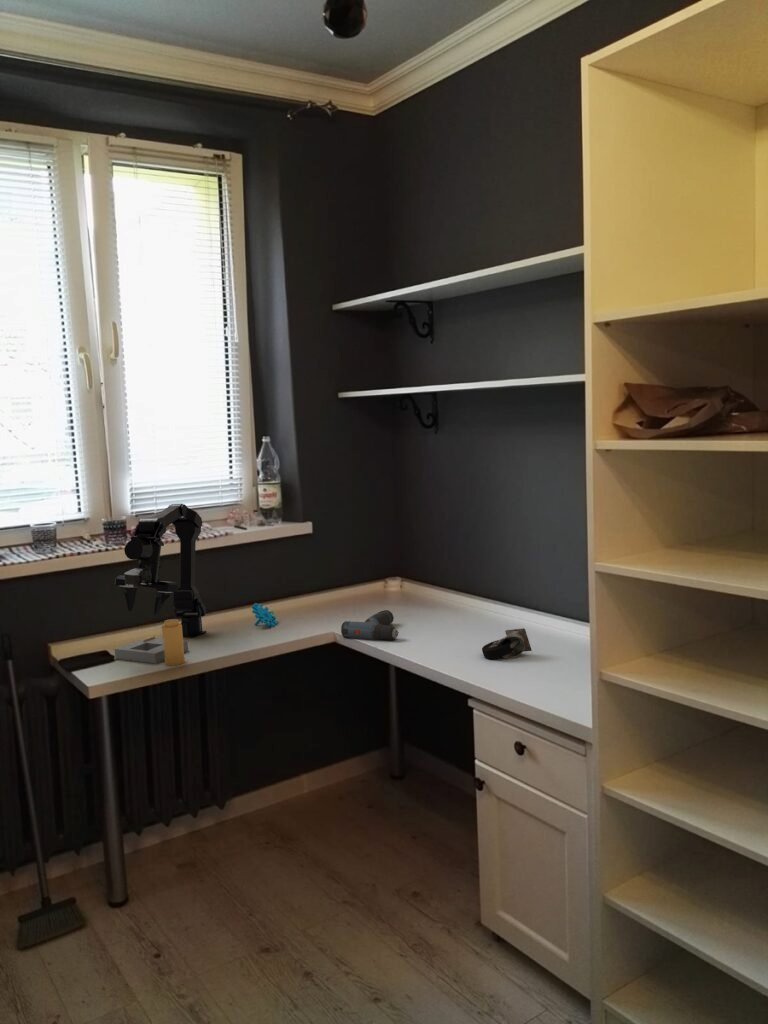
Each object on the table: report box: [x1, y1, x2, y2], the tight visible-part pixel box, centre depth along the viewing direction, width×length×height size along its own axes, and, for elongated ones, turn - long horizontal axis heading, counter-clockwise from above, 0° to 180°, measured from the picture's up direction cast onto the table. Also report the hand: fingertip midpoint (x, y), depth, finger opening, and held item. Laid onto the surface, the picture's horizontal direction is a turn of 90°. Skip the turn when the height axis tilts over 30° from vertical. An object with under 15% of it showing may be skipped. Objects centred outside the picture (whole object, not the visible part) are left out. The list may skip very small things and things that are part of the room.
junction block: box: [114, 635, 189, 664], centre depth 261 cm, size 14×16×4 cm
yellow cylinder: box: [161, 618, 186, 666], centre depth 251 cm, size 6×6×12 cm
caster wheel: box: [481, 627, 533, 660], centre depth 239 cm, size 7×11×10 cm
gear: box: [251, 602, 278, 627], centre depth 290 cm, size 11×6×10 cm
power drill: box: [340, 609, 400, 641], centre depth 272 cm, size 5×19×20 cm
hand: (142, 613), depth 256 cm, fingers open, 9 cm apart
